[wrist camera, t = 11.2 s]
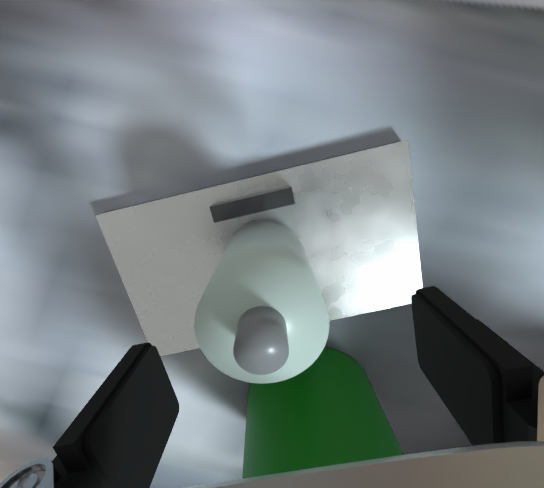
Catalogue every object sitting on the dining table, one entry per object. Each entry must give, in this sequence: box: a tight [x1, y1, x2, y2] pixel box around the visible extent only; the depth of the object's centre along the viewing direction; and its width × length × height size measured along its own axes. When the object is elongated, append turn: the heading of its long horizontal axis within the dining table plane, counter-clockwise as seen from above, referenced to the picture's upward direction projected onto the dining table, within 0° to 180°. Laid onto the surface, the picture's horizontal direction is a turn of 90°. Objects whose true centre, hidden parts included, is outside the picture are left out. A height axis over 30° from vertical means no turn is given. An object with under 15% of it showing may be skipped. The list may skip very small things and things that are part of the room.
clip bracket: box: [95, 140, 423, 356], centre depth 19 cm, size 20×11×2 cm, turn 103°
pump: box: [194, 221, 329, 384], centre depth 15 cm, size 6×6×10 cm
